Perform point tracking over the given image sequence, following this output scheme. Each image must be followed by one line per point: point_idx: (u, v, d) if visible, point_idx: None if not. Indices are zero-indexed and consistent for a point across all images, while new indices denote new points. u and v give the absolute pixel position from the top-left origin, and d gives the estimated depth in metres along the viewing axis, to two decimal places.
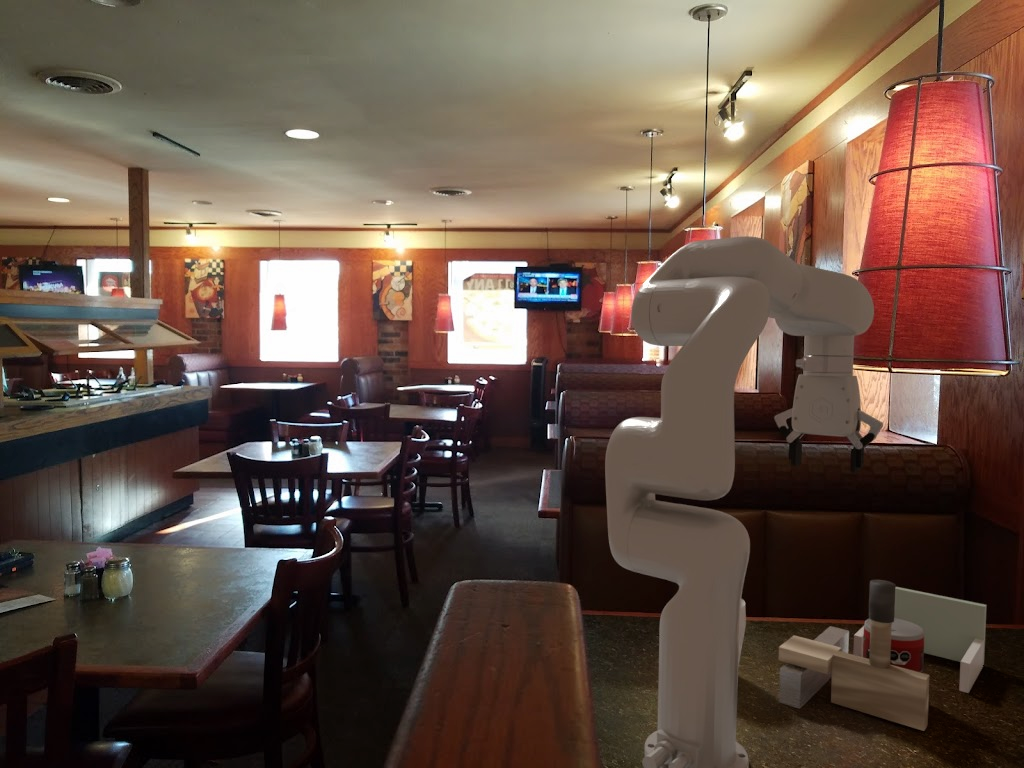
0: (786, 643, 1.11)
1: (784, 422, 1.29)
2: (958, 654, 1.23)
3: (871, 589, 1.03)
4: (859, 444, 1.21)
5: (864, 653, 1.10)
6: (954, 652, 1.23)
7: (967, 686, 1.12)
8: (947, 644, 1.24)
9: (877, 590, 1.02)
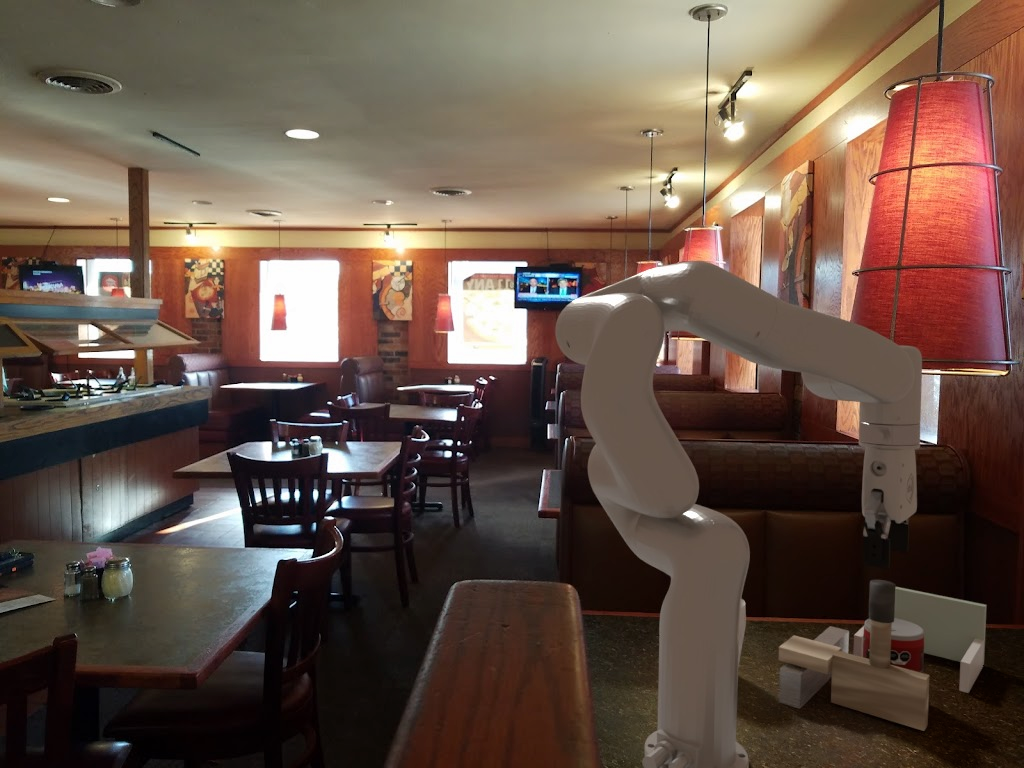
0: (786, 643, 1.11)
1: None
2: (958, 654, 1.23)
3: (871, 589, 1.03)
4: None
5: (864, 653, 1.10)
6: (954, 652, 1.23)
7: (967, 686, 1.12)
8: (947, 644, 1.24)
9: (877, 590, 1.02)
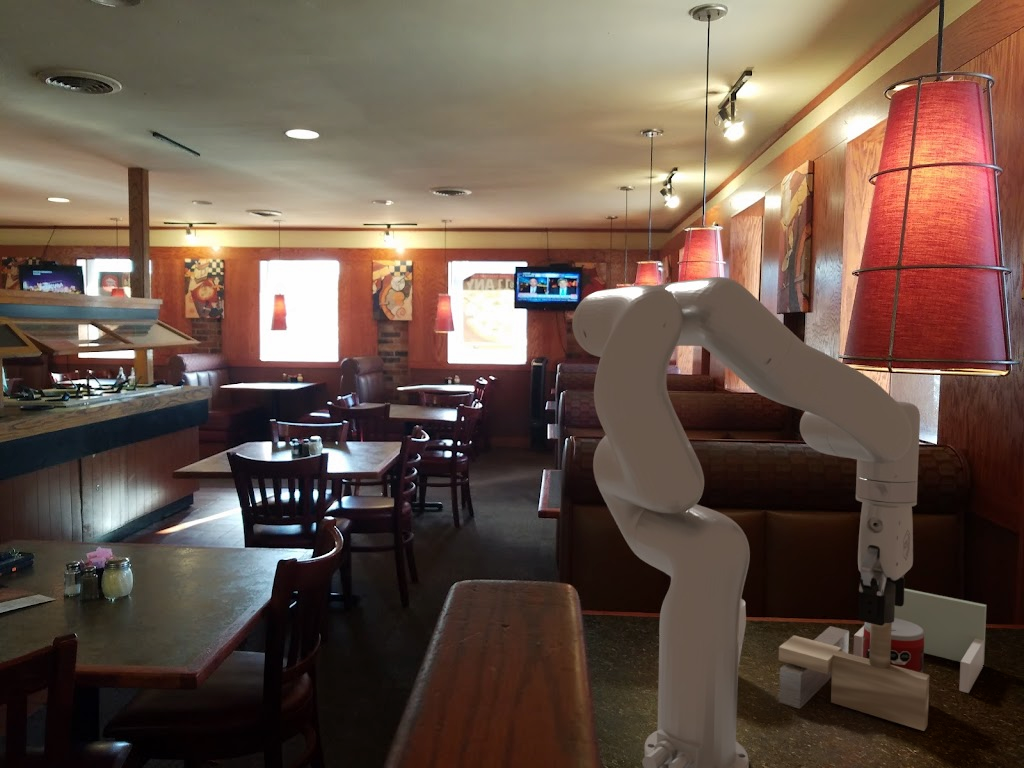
0: (786, 643, 1.11)
1: None
2: (958, 654, 1.23)
3: None
4: None
5: (864, 653, 1.10)
6: (954, 652, 1.23)
7: (967, 686, 1.12)
8: (947, 644, 1.24)
9: None
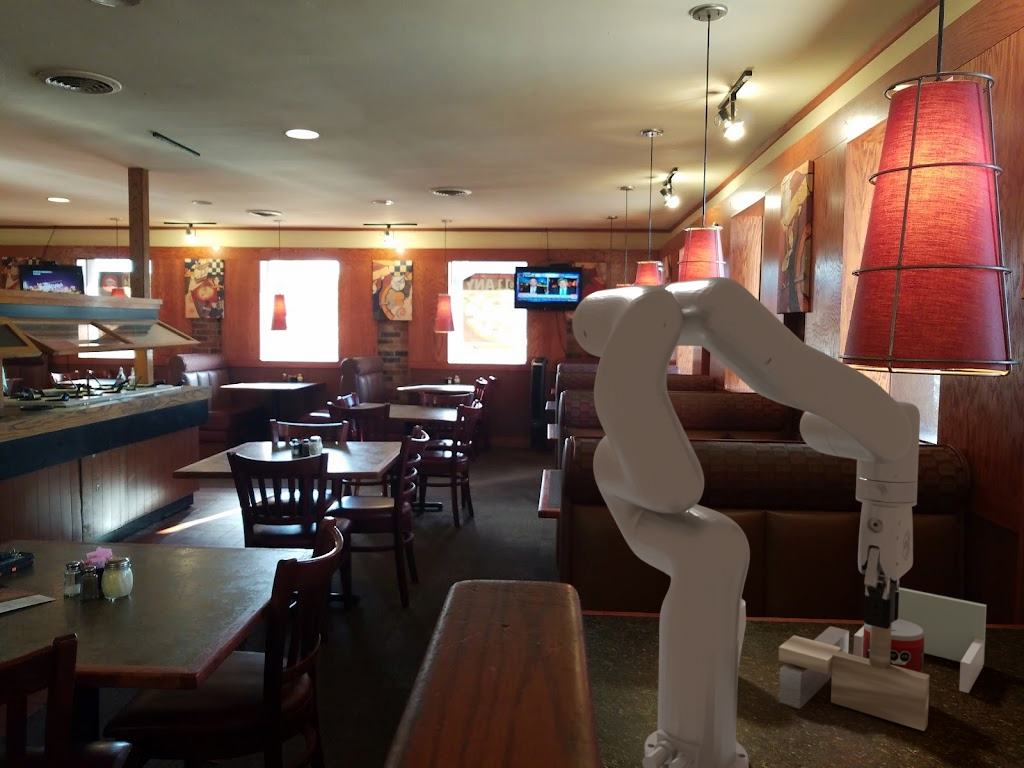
0: (786, 643, 1.11)
1: None
2: (958, 654, 1.23)
3: None
4: None
5: (864, 653, 1.10)
6: (954, 652, 1.23)
7: (967, 686, 1.12)
8: (947, 644, 1.24)
9: None
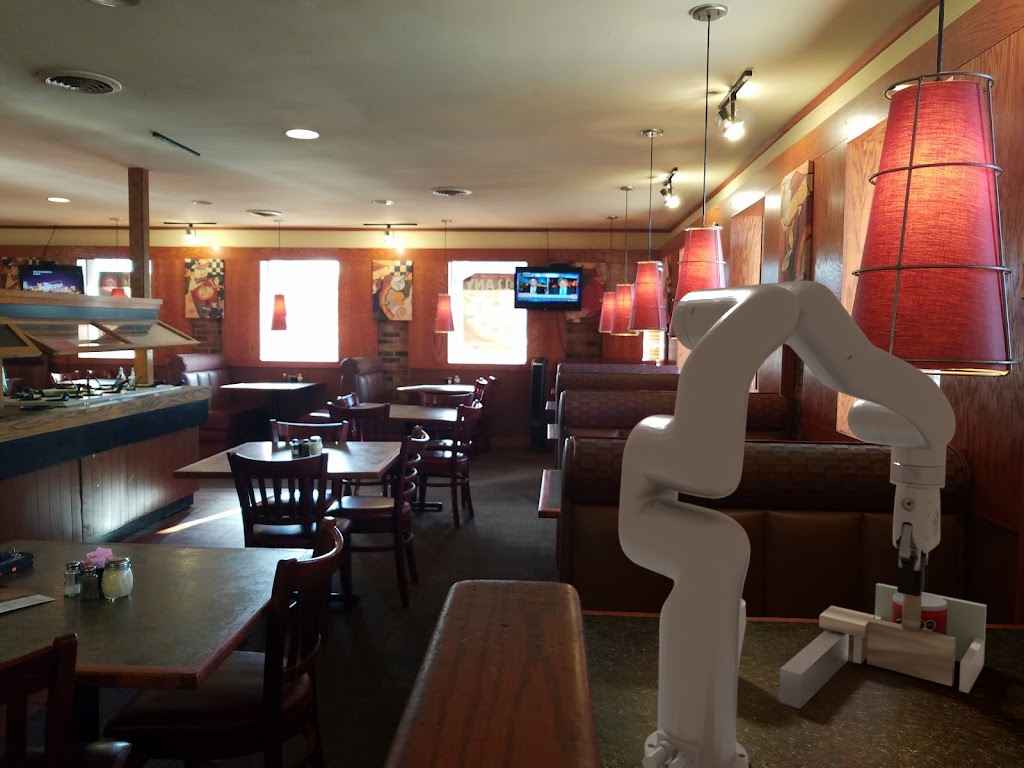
0: (825, 612, 1.25)
1: None
2: (958, 654, 1.23)
3: None
4: (925, 559, 1.18)
5: None
6: None
7: (967, 686, 1.12)
8: None
9: None
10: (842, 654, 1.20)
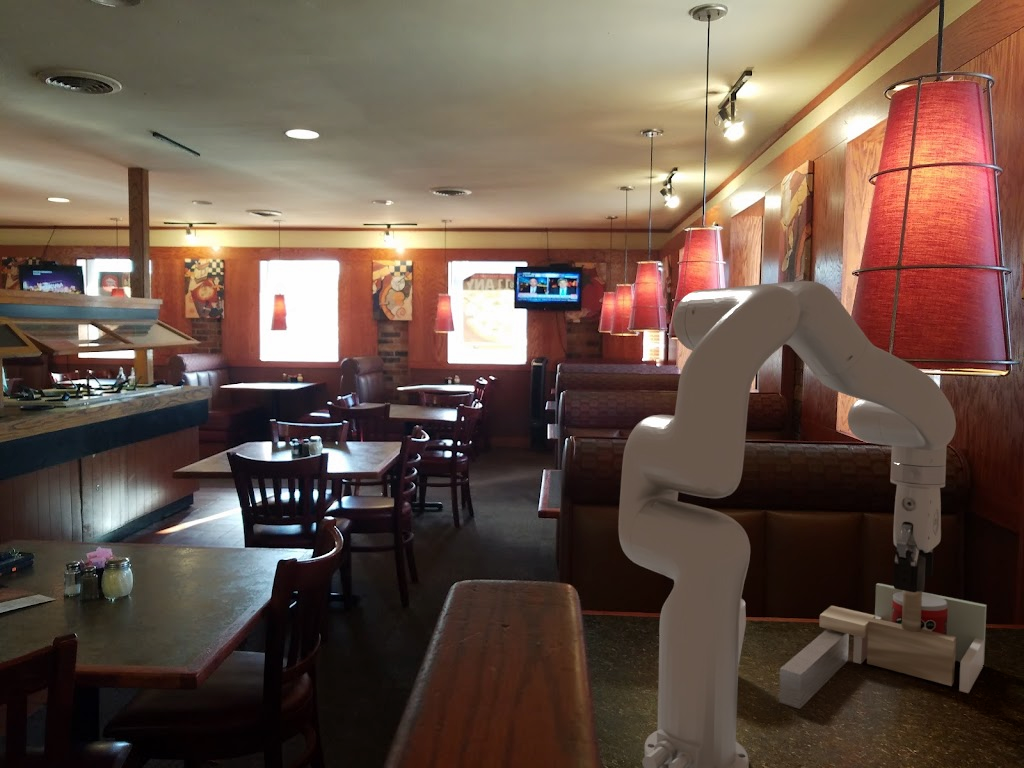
0: (826, 612, 1.25)
1: None
2: (958, 654, 1.23)
3: None
4: None
5: None
6: None
7: (967, 686, 1.12)
8: None
9: None
10: (842, 654, 1.20)
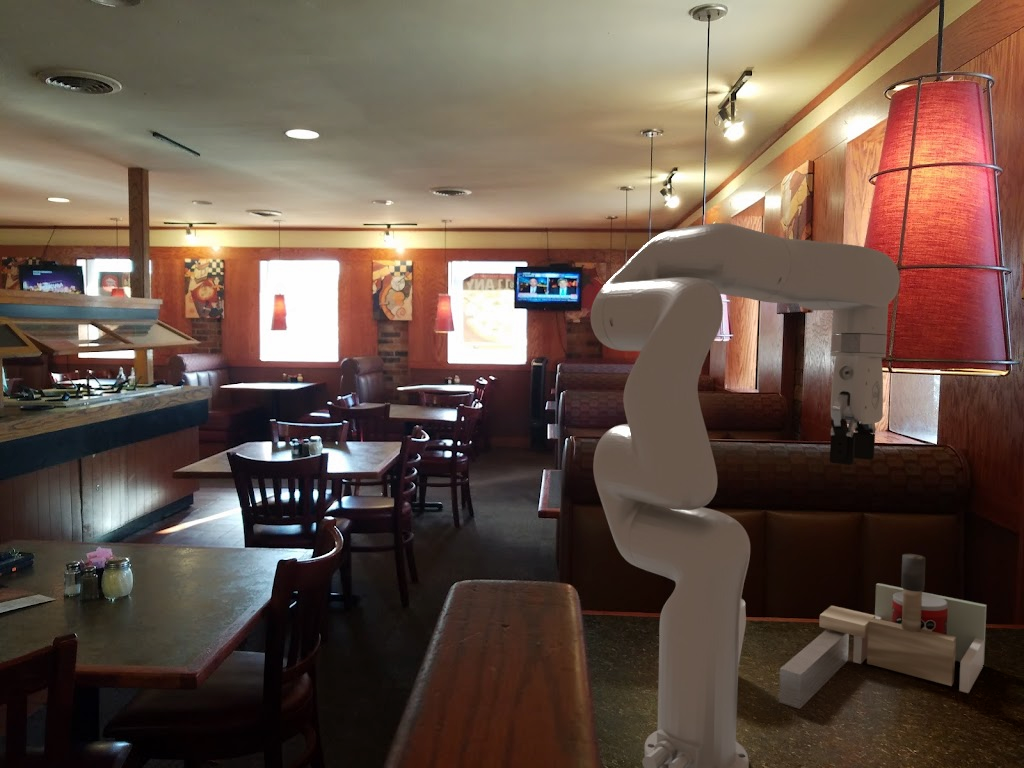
0: (826, 612, 1.25)
1: None
2: (958, 654, 1.23)
3: (904, 562, 1.17)
4: None
5: None
6: None
7: (967, 686, 1.12)
8: None
9: (909, 562, 1.16)
10: (842, 654, 1.20)
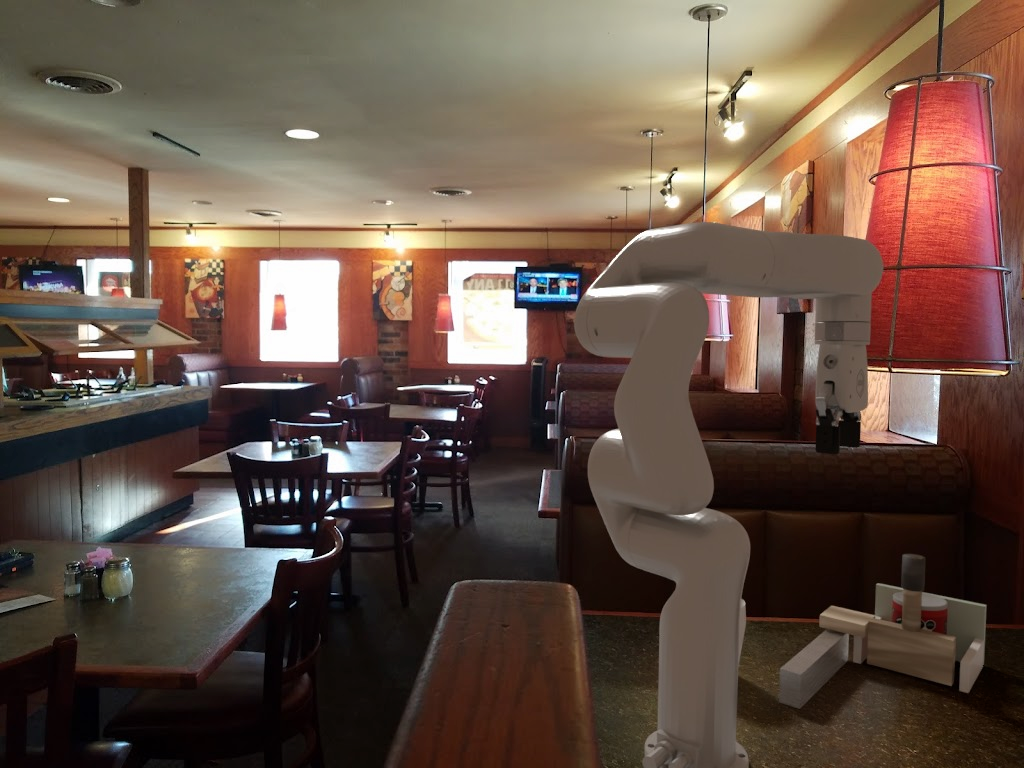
0: (826, 612, 1.25)
1: None
2: (958, 654, 1.23)
3: (904, 562, 1.17)
4: None
5: None
6: None
7: (967, 686, 1.12)
8: None
9: (909, 562, 1.16)
10: (842, 654, 1.20)
